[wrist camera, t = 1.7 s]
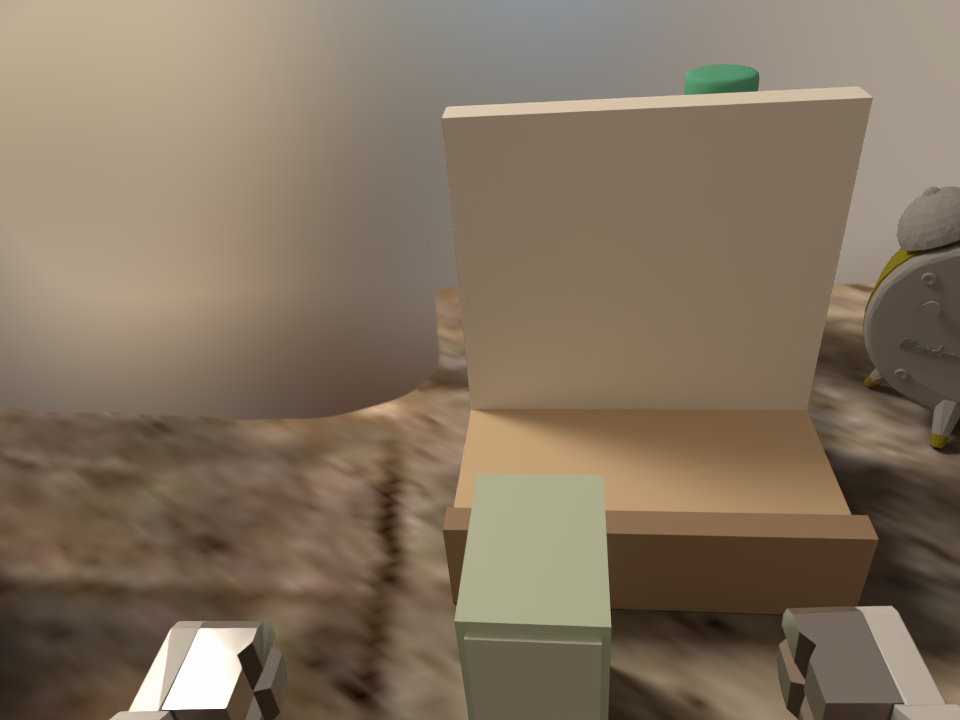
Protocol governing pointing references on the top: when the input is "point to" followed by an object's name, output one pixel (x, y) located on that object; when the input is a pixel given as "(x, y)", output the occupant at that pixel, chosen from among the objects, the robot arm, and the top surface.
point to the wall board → (663, 331)
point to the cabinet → (535, 599)
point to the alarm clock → (921, 311)
